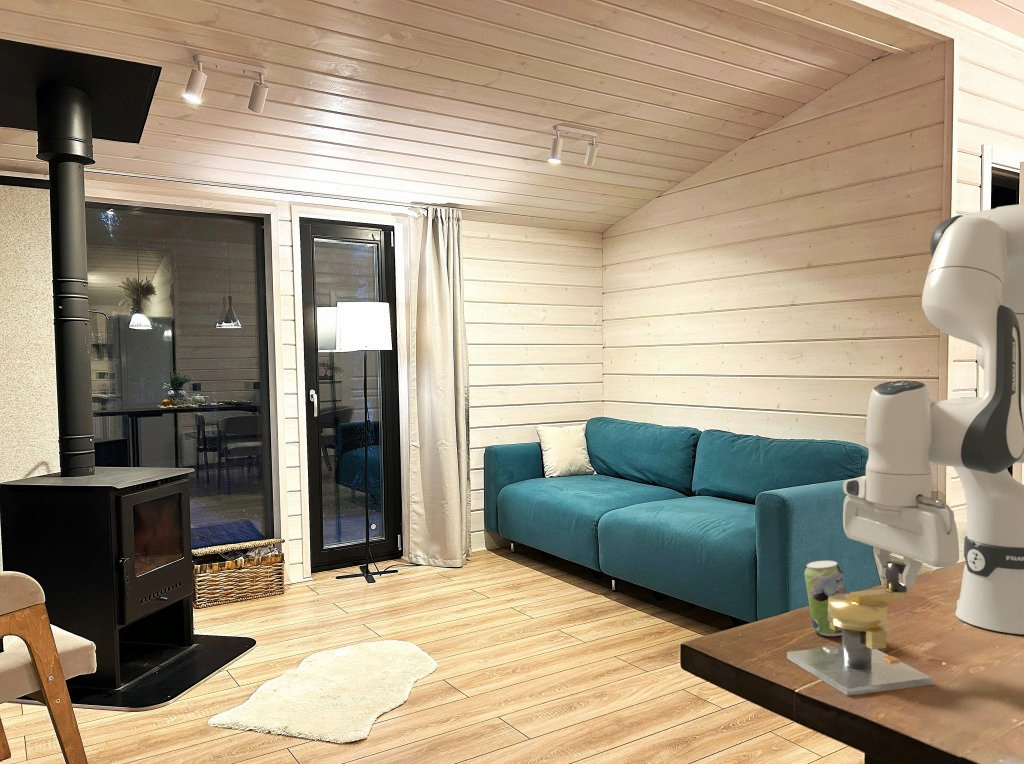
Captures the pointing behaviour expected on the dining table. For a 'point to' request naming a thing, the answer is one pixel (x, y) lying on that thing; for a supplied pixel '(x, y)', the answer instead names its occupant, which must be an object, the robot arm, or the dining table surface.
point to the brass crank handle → (867, 608)
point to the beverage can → (823, 592)
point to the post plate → (858, 677)
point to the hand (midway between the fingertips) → (896, 582)
